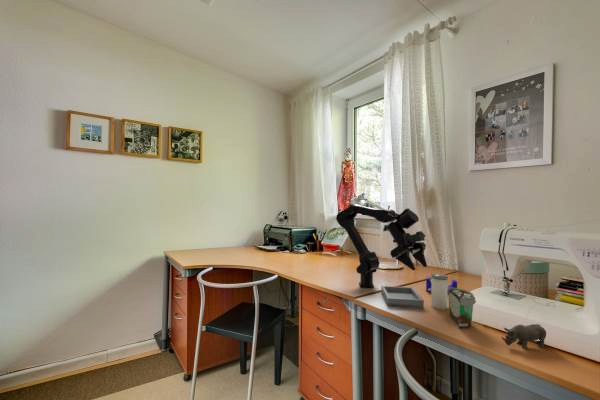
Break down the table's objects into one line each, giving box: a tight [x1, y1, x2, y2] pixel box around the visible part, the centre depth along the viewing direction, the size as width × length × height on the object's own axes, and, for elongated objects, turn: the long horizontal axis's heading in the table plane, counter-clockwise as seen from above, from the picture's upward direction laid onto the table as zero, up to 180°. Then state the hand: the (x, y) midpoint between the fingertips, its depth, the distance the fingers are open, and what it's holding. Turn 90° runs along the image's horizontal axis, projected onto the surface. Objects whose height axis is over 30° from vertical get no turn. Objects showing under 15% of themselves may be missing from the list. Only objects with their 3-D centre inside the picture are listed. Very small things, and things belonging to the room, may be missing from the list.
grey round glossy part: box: [430, 272, 449, 310], centre depth 106 cm, size 6×6×12 cm
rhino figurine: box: [501, 323, 547, 350], centre depth 78 cm, size 4×14×6 cm, turn 98°
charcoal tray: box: [380, 285, 425, 309], centre depth 113 cm, size 16×13×3 cm
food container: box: [448, 287, 477, 330], centre depth 92 cm, size 12×6×10 cm, turn 168°
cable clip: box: [425, 276, 458, 295], centre depth 124 cm, size 12×4×6 cm, turn 68°
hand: (420, 268), depth 111 cm, fingers open, 9 cm apart
